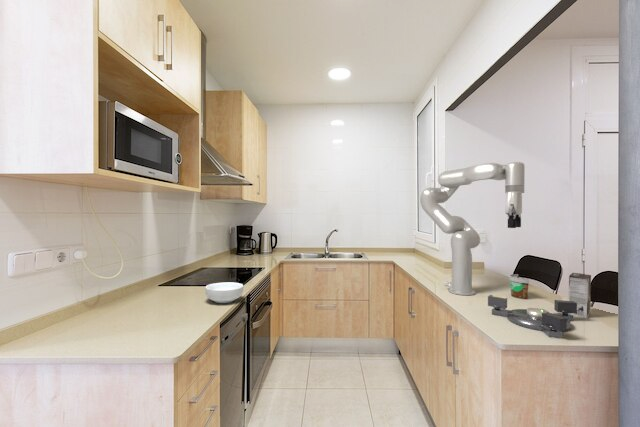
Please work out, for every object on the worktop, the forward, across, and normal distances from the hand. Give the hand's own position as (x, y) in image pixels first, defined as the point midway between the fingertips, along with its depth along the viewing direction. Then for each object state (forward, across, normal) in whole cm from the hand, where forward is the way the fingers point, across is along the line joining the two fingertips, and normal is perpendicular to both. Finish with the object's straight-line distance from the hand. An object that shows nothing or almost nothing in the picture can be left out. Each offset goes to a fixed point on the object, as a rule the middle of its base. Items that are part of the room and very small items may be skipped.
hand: (514, 227), depth 151 cm
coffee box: (+35, -2, +24) cm, 42 cm away
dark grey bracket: (+32, +22, -1) cm, 39 cm away
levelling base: (+35, +23, +10) cm, 43 cm away
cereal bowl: (+34, +89, -98) cm, 136 cm away
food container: (+35, -15, -2) cm, 38 cm away
